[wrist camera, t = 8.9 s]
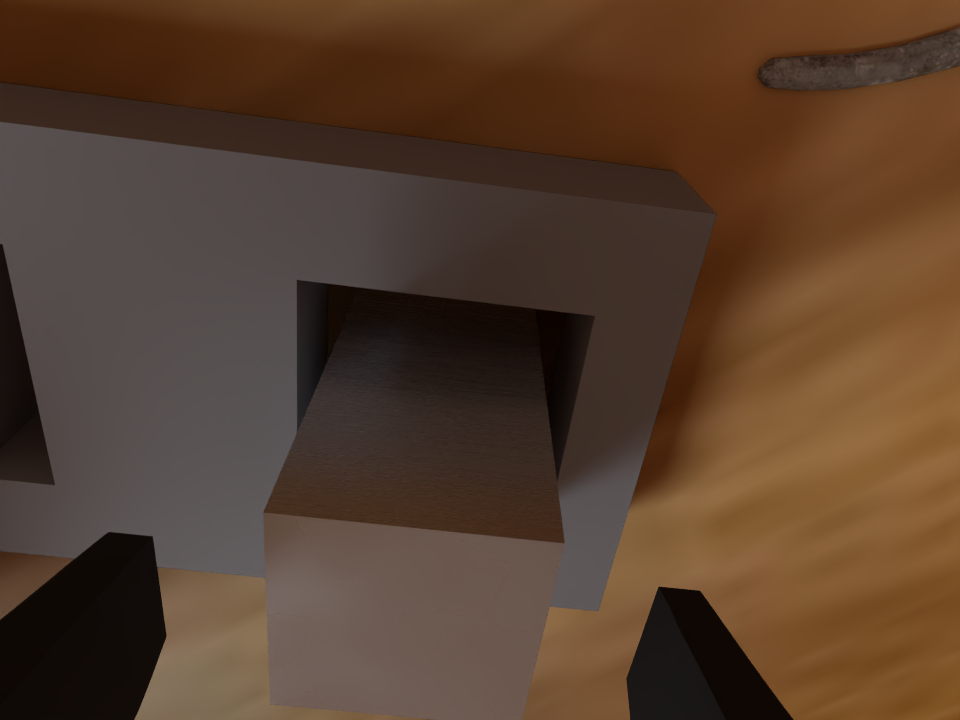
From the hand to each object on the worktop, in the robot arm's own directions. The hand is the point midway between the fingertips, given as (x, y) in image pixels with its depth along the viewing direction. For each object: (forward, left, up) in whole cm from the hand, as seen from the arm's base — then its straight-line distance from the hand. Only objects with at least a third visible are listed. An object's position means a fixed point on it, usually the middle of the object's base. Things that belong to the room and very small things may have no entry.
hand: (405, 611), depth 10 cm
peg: (0, 0, -8) cm, 8 cm away
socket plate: (-4, 0, -8) cm, 9 cm away
